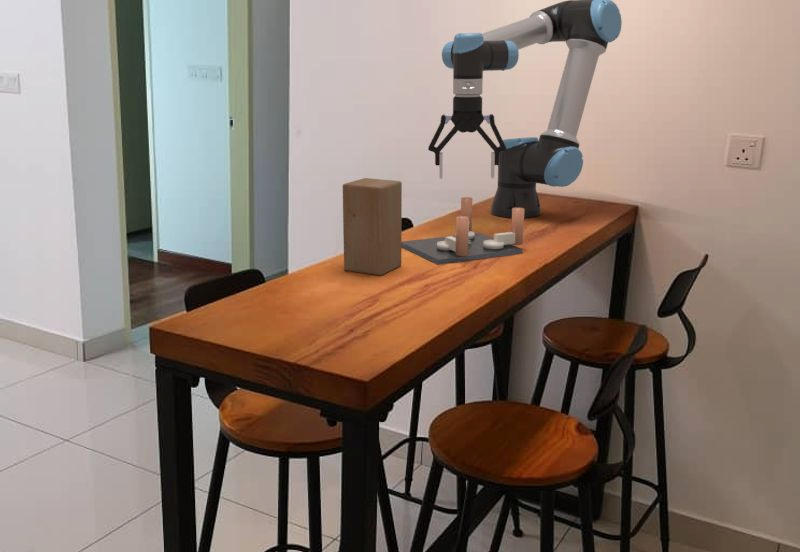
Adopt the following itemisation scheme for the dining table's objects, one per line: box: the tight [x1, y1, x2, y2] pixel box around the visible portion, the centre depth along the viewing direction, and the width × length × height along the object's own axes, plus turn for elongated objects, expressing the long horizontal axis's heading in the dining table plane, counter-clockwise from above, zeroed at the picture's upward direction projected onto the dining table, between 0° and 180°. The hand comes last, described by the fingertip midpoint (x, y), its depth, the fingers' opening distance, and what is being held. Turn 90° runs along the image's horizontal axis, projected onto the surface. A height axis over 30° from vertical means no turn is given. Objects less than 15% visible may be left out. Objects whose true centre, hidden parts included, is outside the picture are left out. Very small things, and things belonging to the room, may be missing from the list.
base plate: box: [401, 232, 524, 266], centre depth 201 cm, size 24×20×2 cm
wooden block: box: [342, 177, 403, 276], centre depth 182 cm, size 10×10×20 cm
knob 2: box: [454, 196, 476, 239], centre depth 210 cm, size 11×5×9 cm, turn 173°
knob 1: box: [437, 215, 469, 256], centre depth 193 cm, size 11×5×9 cm, turn 27°
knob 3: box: [483, 208, 525, 249], centre depth 198 cm, size 11×5×9 cm, turn 117°
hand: (466, 177), depth 211 cm, fingers open, 13 cm apart
